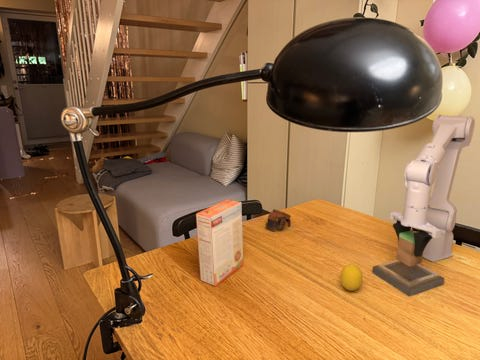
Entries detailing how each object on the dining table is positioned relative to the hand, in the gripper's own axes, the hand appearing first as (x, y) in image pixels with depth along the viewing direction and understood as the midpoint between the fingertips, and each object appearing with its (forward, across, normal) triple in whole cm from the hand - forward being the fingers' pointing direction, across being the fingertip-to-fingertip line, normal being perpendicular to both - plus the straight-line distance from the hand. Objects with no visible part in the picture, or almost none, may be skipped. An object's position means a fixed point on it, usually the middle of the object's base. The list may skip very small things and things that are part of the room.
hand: (410, 251), depth 95 cm
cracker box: (+9, -25, -46) cm, 54 cm away
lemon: (+9, -2, -18) cm, 21 cm away
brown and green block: (+3, 0, 0) cm, 3 cm away
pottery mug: (+9, -46, -15) cm, 49 cm away
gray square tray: (+8, 0, 0) cm, 8 cm away
